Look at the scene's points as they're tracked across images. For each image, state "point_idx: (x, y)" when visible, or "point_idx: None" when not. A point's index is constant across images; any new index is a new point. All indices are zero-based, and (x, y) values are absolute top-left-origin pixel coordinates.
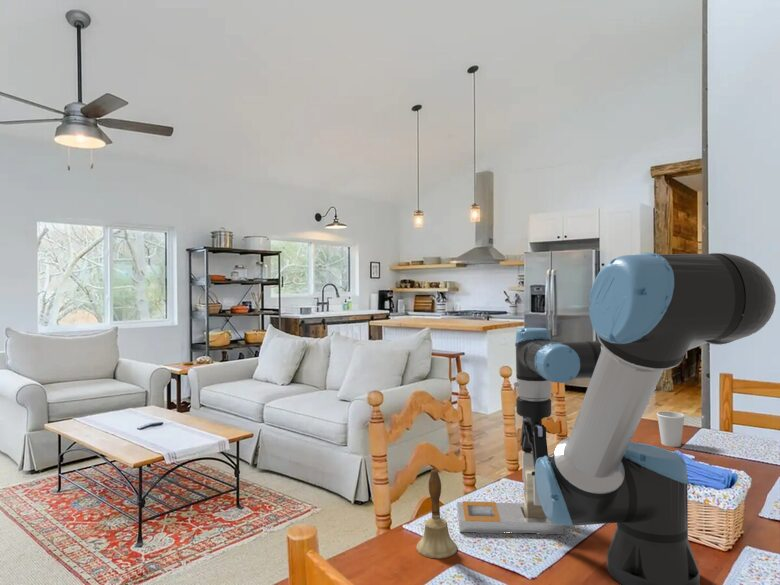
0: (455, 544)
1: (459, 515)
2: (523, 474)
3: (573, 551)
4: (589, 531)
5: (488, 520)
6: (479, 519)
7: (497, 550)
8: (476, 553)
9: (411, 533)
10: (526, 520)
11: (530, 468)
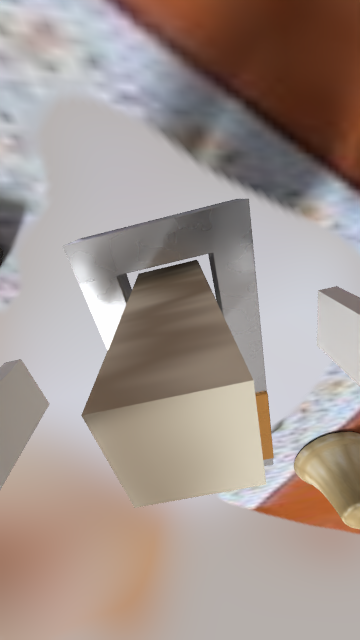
0: (337, 441)
1: None
2: (32, 428)
3: (353, 165)
4: (183, 80)
5: (268, 418)
6: (264, 435)
7: None
8: (354, 401)
9: (277, 495)
10: (246, 330)
11: (147, 476)
